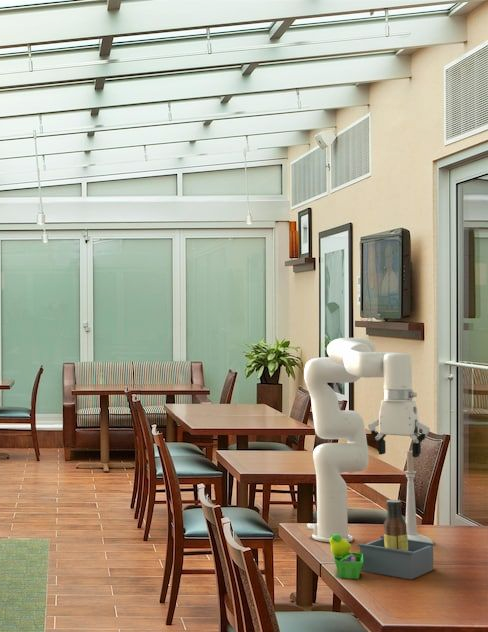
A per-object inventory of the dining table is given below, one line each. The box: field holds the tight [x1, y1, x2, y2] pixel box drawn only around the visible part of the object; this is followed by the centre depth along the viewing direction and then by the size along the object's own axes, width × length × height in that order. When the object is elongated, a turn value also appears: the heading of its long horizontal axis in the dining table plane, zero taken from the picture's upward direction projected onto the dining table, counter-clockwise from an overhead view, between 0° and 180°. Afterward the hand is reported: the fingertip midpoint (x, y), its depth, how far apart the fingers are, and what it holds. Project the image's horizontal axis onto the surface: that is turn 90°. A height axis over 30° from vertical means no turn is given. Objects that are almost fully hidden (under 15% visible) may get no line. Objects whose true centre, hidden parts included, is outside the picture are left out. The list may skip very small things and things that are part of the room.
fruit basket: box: [329, 534, 363, 580], centre depth 270 cm, size 11×9×11 cm
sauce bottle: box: [383, 499, 408, 551], centre depth 275 cm, size 6×6×20 cm
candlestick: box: [404, 450, 434, 543], centre depth 312 cm, size 13×13×30 cm
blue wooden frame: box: [357, 534, 436, 580], centre depth 275 cm, size 15×16×8 cm
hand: (398, 455), depth 276 cm, fingers open, 9 cm apart
